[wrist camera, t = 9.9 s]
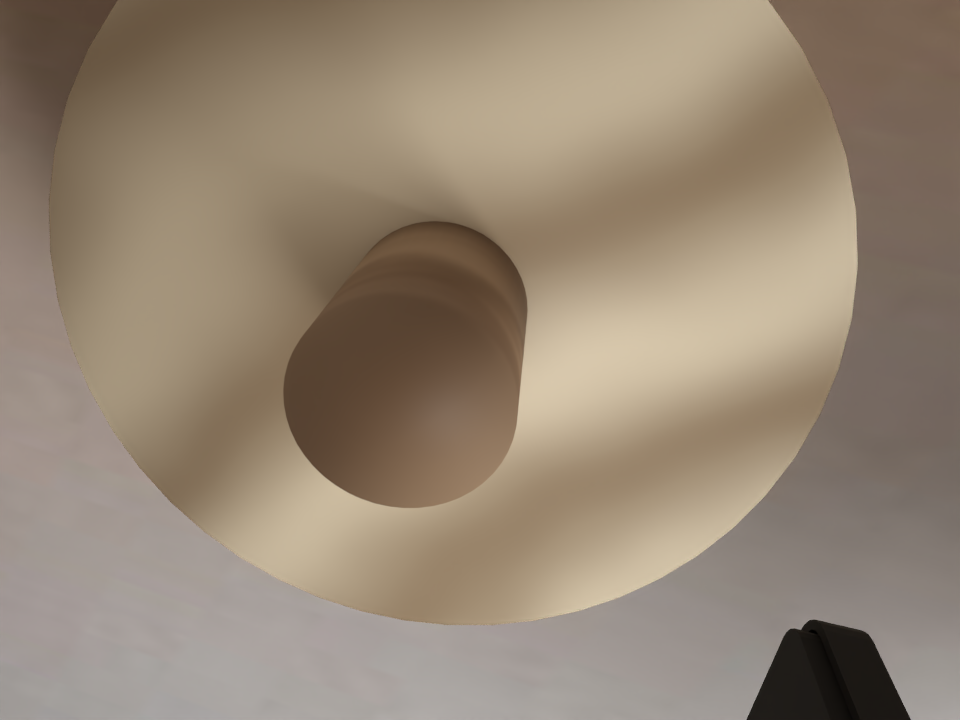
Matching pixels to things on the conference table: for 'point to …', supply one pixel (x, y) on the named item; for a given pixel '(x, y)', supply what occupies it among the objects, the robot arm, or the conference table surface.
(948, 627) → the conference table surface
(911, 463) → the conference table surface
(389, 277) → the lid
